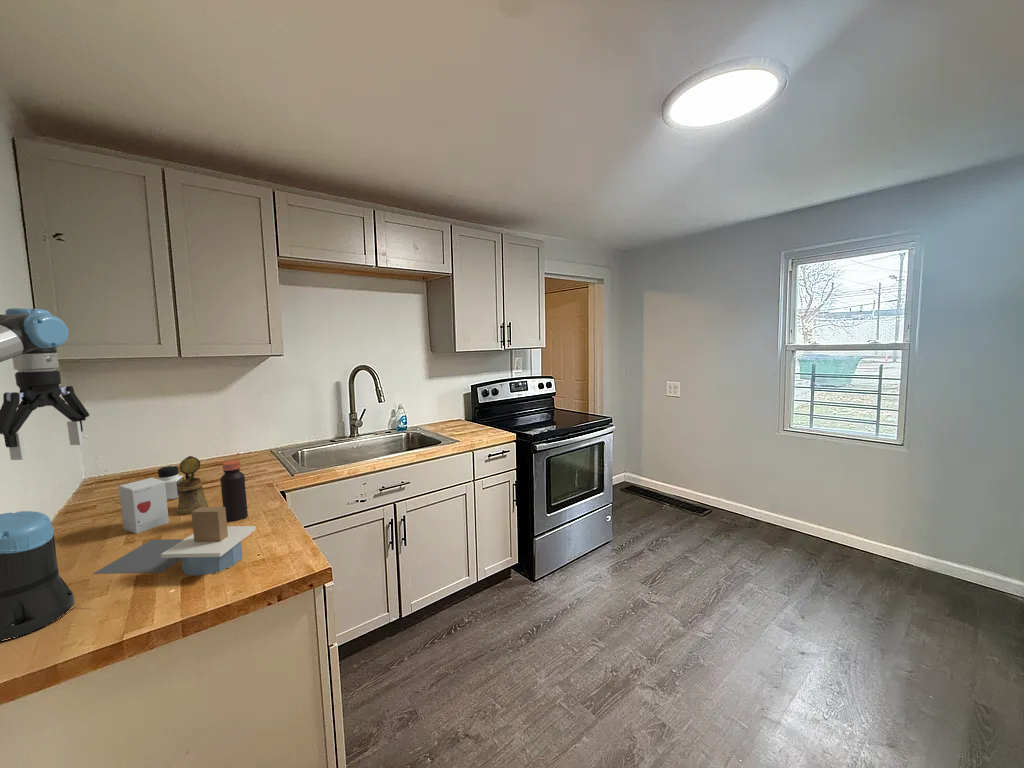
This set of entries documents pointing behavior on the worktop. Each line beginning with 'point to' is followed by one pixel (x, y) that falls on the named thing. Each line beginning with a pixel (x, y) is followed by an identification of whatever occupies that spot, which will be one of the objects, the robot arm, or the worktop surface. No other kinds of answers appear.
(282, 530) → the worktop surface
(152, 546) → the mat
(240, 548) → the bowl
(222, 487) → the vinegar
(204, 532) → the lid
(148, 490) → the supplement box
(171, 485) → the medicine bottle
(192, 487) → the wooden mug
